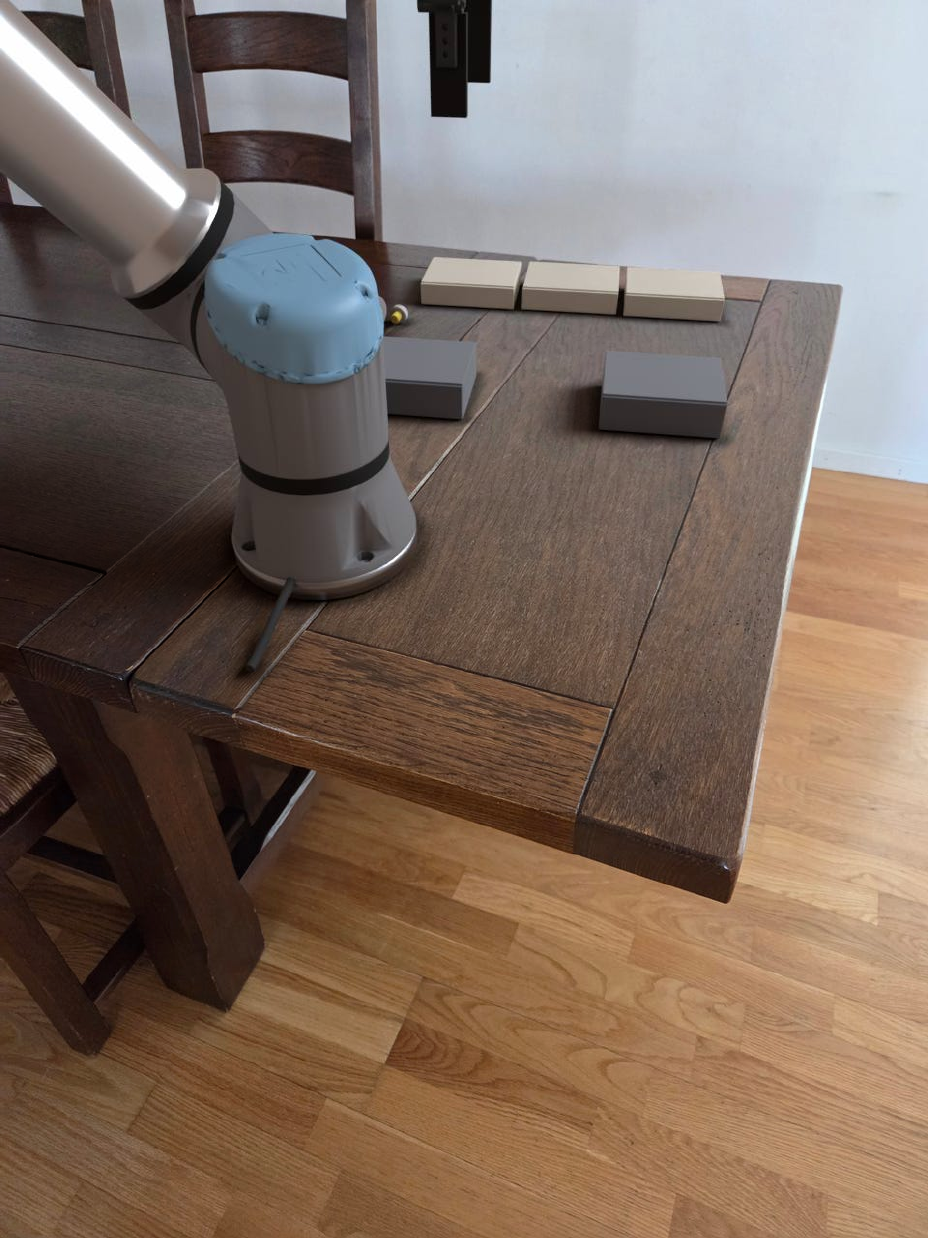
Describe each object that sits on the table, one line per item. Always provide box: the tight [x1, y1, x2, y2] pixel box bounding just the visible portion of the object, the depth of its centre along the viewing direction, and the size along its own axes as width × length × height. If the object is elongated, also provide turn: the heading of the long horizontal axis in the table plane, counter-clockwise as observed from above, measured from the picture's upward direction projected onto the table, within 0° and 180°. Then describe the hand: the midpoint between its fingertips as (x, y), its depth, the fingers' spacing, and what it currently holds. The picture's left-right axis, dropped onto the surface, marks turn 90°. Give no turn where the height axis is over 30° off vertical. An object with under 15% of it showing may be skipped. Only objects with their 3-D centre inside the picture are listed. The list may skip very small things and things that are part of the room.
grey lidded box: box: [383, 335, 478, 420], centre depth 92 cm, size 10×12×4 cm
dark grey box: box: [598, 350, 728, 439], centre depth 89 cm, size 10×12×4 cm
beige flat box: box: [521, 261, 621, 316], centre depth 112 cm, size 9×12×3 cm
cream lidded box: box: [622, 266, 726, 322], centre depth 110 cm, size 9×12×3 cm
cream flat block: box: [420, 256, 523, 310], centre depth 113 cm, size 9×12×3 cm
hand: (463, 98), depth 70 cm, fingers open, 13 cm apart
